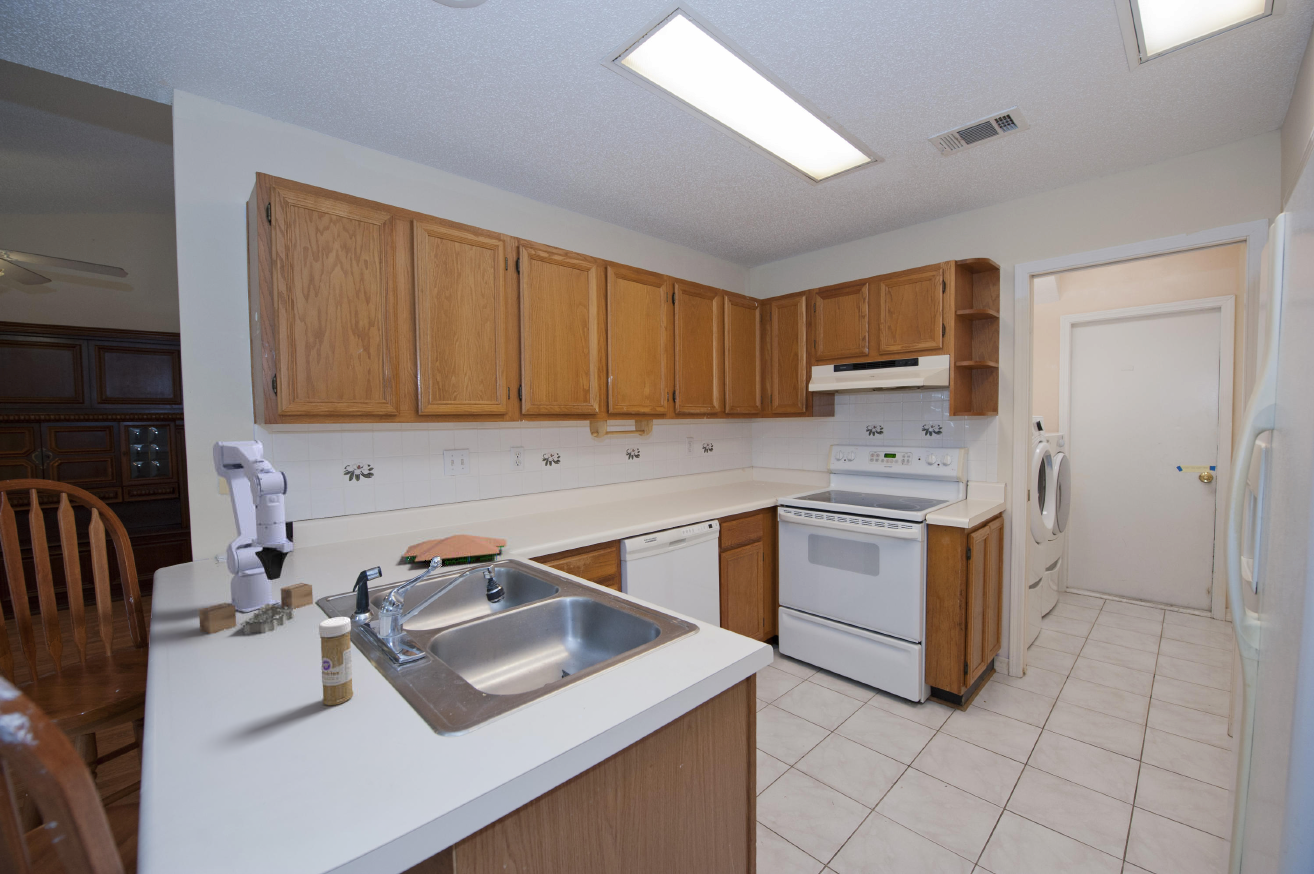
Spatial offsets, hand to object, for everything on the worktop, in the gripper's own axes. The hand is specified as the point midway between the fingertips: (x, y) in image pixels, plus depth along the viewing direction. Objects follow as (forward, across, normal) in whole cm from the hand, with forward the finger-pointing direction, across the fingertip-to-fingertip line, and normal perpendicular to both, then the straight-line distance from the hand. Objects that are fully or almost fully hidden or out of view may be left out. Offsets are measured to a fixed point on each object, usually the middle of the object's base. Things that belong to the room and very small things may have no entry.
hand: (273, 578), depth 129 cm
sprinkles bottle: (+10, +52, -16) cm, 55 cm away
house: (+10, -6, +60) cm, 61 cm away
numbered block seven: (+10, -6, -9) cm, 15 cm away
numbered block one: (+10, -6, +8) cm, 14 cm away
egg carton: (+10, +3, -2) cm, 11 cm away
